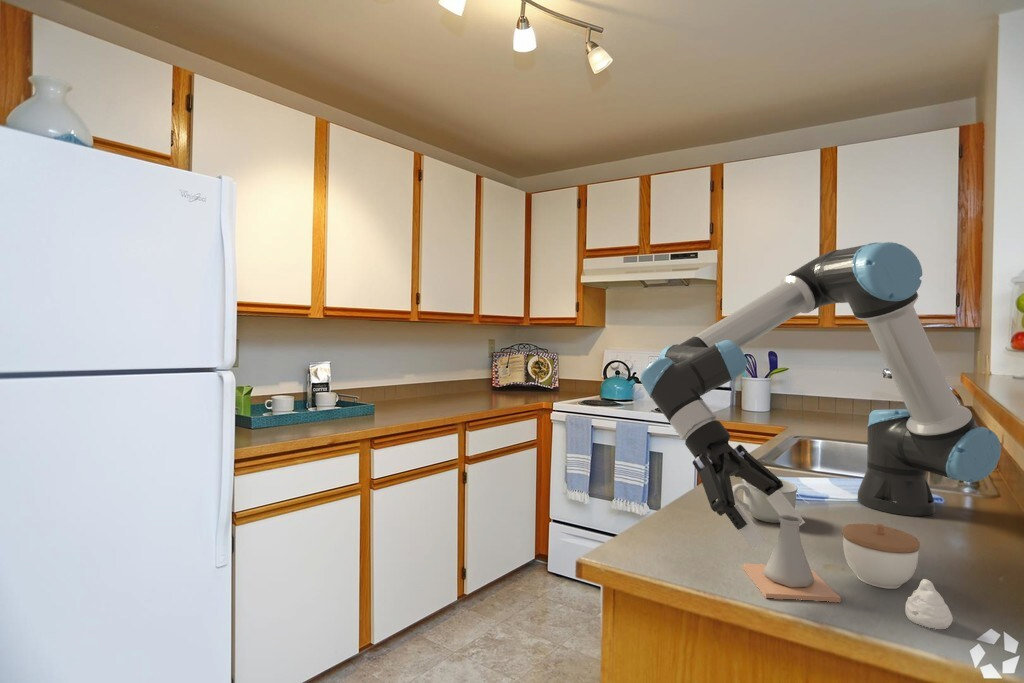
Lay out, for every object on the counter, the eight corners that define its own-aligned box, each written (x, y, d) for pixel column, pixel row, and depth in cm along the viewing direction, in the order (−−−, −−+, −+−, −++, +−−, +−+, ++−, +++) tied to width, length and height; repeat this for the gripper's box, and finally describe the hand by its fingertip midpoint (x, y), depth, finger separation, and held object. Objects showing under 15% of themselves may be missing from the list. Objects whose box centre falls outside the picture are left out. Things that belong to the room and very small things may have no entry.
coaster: (808, 571, 97) (809, 566, 97) (840, 602, 86) (840, 597, 86) (742, 568, 98) (742, 563, 98) (765, 598, 87) (765, 593, 87)
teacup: (785, 511, 129) (786, 476, 129) (804, 528, 118) (806, 490, 118) (722, 508, 130) (723, 474, 130) (736, 525, 119) (737, 487, 119)
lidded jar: (890, 601, 87) (892, 540, 87) (826, 572, 97) (828, 518, 96) (933, 588, 91) (935, 531, 91) (868, 563, 101) (869, 511, 101)
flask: (754, 573, 94) (755, 514, 94) (784, 566, 97) (786, 508, 97) (792, 592, 87) (794, 528, 87) (823, 584, 90) (825, 522, 90)
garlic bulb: (901, 569, 84) (945, 576, 82) (900, 609, 84) (943, 616, 82) (913, 585, 79) (960, 592, 77) (911, 627, 79) (958, 635, 77)
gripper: (723, 435, 114) (796, 530, 103) (646, 451, 98) (724, 565, 87) (749, 412, 110) (829, 509, 99) (673, 425, 94) (758, 542, 83)
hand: (780, 535), depth 93 cm, fingers open, 13 cm apart
